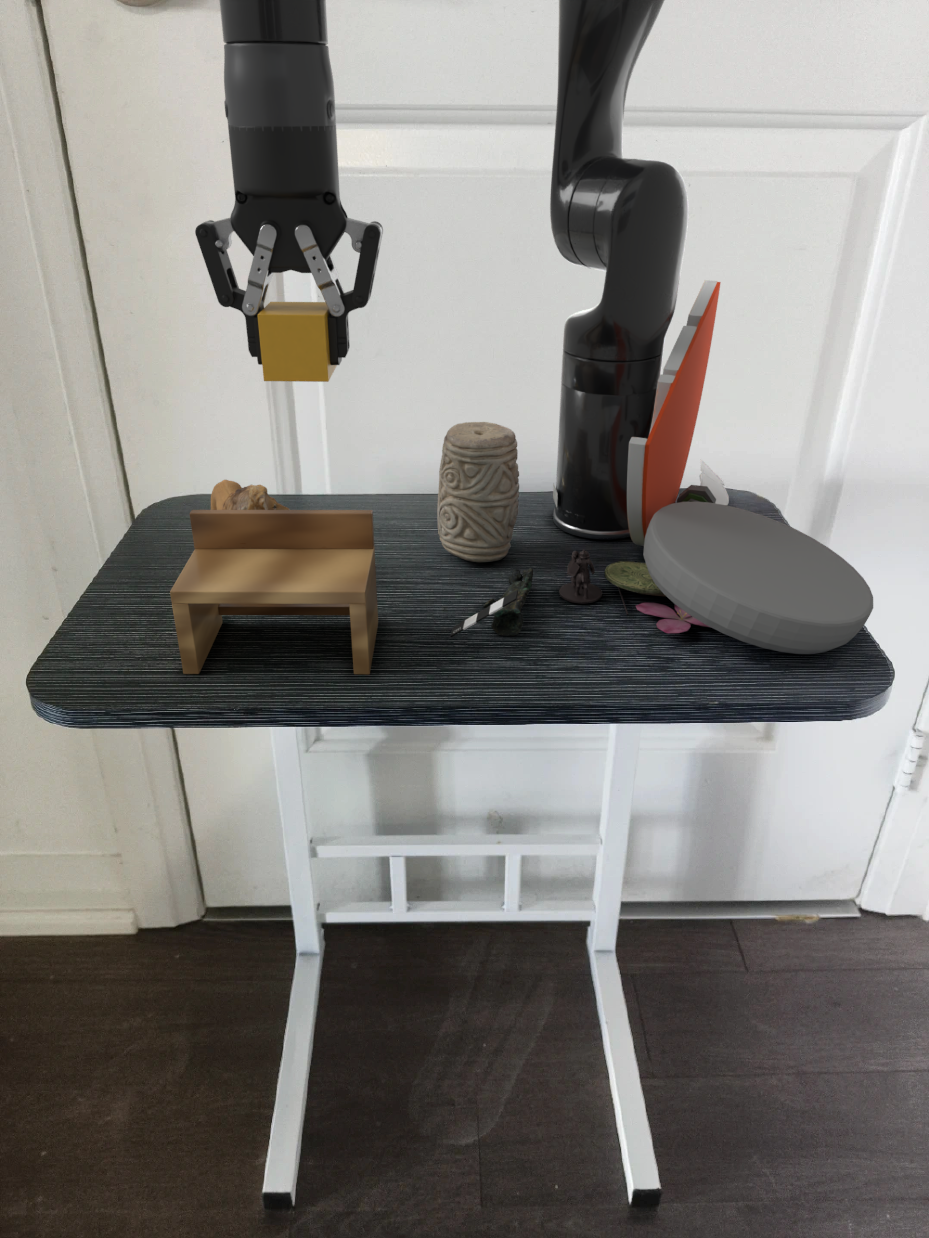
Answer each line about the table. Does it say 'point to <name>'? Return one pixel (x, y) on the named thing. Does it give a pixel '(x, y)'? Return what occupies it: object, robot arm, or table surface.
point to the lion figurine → (242, 497)
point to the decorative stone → (755, 578)
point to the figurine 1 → (504, 607)
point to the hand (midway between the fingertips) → (300, 361)
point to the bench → (277, 574)
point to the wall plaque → (671, 419)
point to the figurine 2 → (582, 581)
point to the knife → (706, 488)
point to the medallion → (632, 577)
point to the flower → (669, 617)
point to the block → (295, 342)
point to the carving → (478, 491)
